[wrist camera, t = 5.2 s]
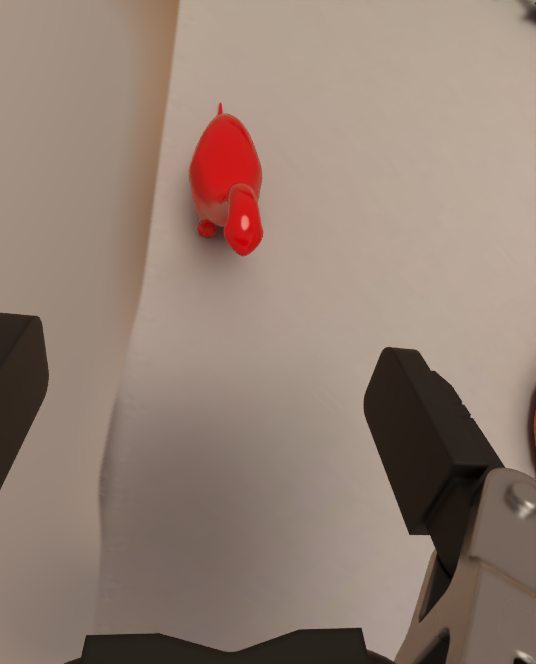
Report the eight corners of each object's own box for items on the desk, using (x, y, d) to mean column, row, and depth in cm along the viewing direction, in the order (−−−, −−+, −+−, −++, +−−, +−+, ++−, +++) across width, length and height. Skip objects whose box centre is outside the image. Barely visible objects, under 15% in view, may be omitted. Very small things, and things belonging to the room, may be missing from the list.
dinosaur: (249, 108, 29) (291, -101, 17) (251, 324, 27) (303, 250, 15) (190, 102, 29) (192, -121, 17) (186, 323, 26) (185, 244, 14)
